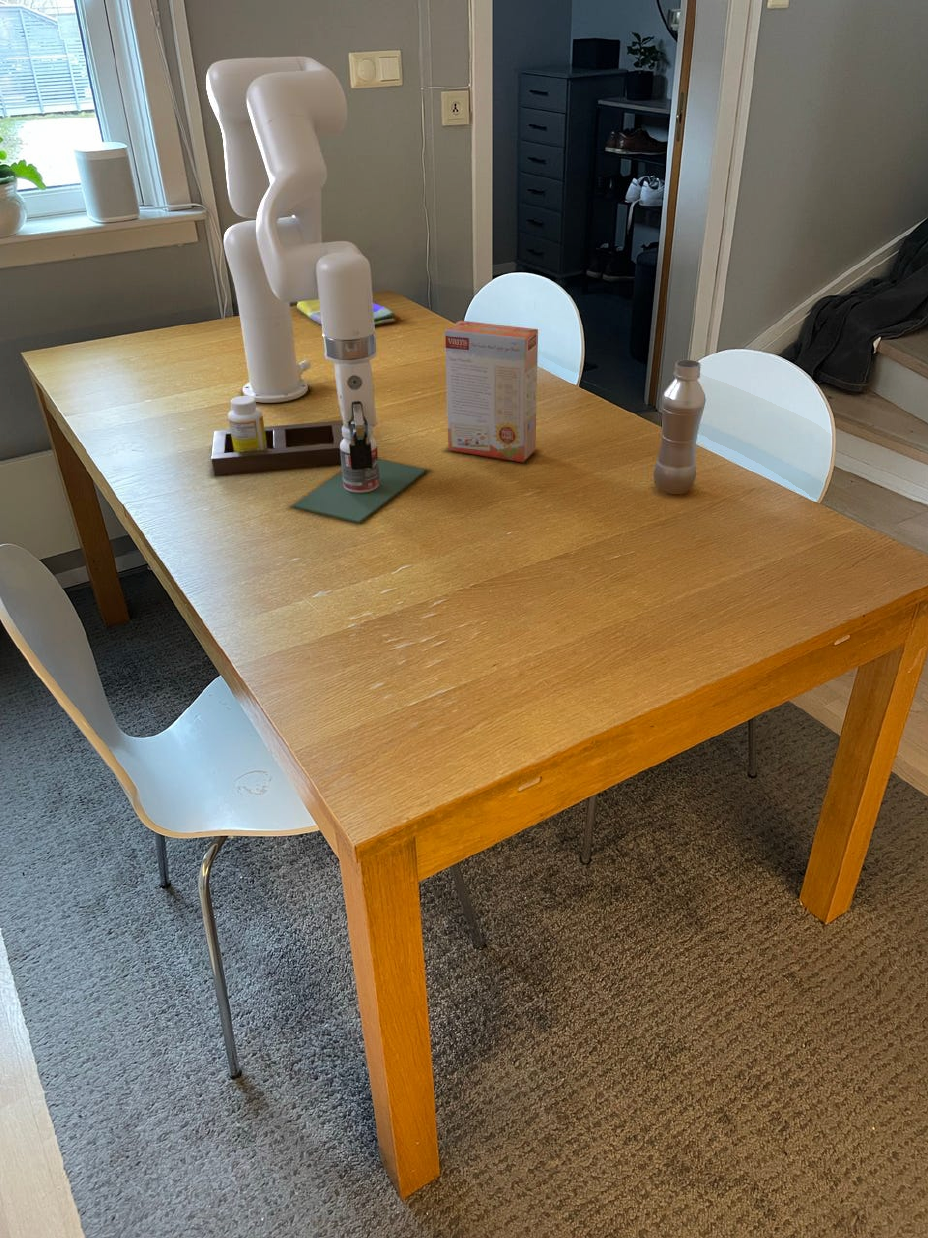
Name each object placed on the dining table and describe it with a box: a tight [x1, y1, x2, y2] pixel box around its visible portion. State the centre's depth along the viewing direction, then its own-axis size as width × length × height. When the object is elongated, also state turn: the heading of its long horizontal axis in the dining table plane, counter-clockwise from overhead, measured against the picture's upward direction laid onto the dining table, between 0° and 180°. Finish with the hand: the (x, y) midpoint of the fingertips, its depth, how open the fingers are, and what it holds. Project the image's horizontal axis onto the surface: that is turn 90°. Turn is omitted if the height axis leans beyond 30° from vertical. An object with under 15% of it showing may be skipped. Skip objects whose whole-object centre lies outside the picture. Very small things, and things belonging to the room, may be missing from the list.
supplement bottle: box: [227, 395, 268, 452], centre depth 154 cm, size 6×6×10 cm
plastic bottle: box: [653, 359, 707, 495], centre depth 139 cm, size 6×7×20 cm
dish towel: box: [296, 299, 396, 326], centre depth 225 cm, size 18×24×3 cm
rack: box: [211, 419, 344, 477], centre depth 157 cm, size 12×22×3 cm, turn 100°
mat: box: [293, 458, 427, 524], centre depth 146 cm, size 20×12×1 cm, turn 152°
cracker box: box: [444, 320, 539, 463], centre depth 152 cm, size 14×6×21 cm, turn 65°
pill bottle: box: [340, 422, 379, 493], centre depth 144 cm, size 6×6×10 cm
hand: (359, 455), depth 143 cm, fingers open, 9 cm apart
